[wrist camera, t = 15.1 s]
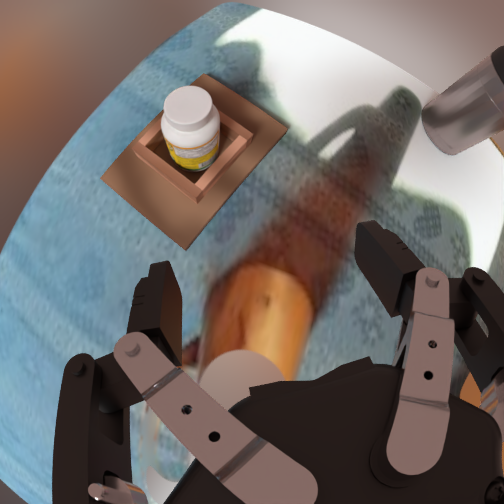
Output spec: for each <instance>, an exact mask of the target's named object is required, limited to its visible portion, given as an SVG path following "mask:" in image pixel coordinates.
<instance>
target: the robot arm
mask: <svg viewBox="0 0 504 504" xmlns="http://www.w3.org/2000/svg"><path fill="white" fill-rule="evenodd" d="M422 121H423V125H424V128H425V130H426V132H427V134H428V136H429V137H430V139H431V141H432V142H433V143H434V144H435V145H436V146H437V147H438V148H439V149H440V150H441V151H443V152H444V153H446V154H449V155H456V154H458V153H460V152H462V151H464V150H466V149H468V148H470V147H472V146H474V145H476V144H478V143H480V142H482V141H483V140H485V139H487V138H489V137H491V136H493V135H495V134H497V133H499V132H501V131H503V130H504V46H501V47H499V48H498V49H496V50H495V51H494V52H493V53H492V54H490V55H489V56H488V57H486V58H485V59H484V60H483V61H481V62H480V63H479V64H478V65H477V66H475V67H474V68H473V69H471V70H470V71H469V72H468V73H466V74H465V75H464V76H463V77H461V78H460V79H459V80H458V81H457V82H455V83H454V84H453V85H451V86H450V87H449V88H448V89H446V90H445V91H444V92H443V93H441V94H440V95H439V96H437V97H436V98H435V99H434V100H433V101H431V102H430V103H429V104H428V105H426V106H425V107H424V109H423V111H422ZM354 253H355V260H356V263H357V265H358V267H359V268H360V270H361V271H362V273H363V274H364V276H365V277H366V279H367V280H368V282H369V283H370V285H371V287H372V288H373V290H374V291H375V293H376V294H377V296H378V297H379V299H380V301H381V302H382V304H383V305H384V307H385V309H386V310H387V312H388V313H389V315H390V317H391V318H392V317H395V316H398V315H401V316H402V318H403V319H402V322H401V327H400V332H399V337H398V342H397V346H396V351H395V355H394V359H393V362H392V365H387V364H373V363H372V361H371V359H370V357H369V356H368V357H365V358H362V359H359V360H356V361H353V362H350V363H347V364H343V365H341V366H339V367H338V368H336V369H334V370H332V371H330V372H329V373H327V374H325V375H323V376H321V377H320V378H318V379H316V380H311V381H278V382H274V383H269V384H264V385H260V386H255V387H250V388H249V390H250V395H251V396H249V397H247V398H244V399H243V400H241V401H240V402H238V403H236V404H235V405H234V406H233V407H231V408H230V409H229V410H228V411H227V410H226V409H224V408H223V407H222V406H221V405H220V404H219V403H217V402H216V401H215V400H214V399H213V398H212V397H211V396H210V395H208V394H207V393H206V392H205V391H204V390H203V389H202V388H201V387H200V386H199V385H198V384H197V383H196V382H195V381H194V380H193V379H191V378H190V377H189V376H188V375H187V374H186V373H185V372H184V371H183V370H182V369H181V368H176V366H182V295H181V291H180V288H179V285H178V282H177V280H176V277H175V275H174V272H173V269H172V267H171V264H170V262H169V261H163V262H158V263H153V264H151V265H150V269H149V274H148V277H145V278H141V280H140V281H139V283H138V284H137V286H136V287H135V291H134V296H133V298H134V299H133V301H132V307H131V311H130V316H129V322H128V327H127V333H126V335H124V336H123V337H122V338H120V339H119V340H118V342H117V343H116V345H115V347H114V352H112V353H110V354H108V355H105V356H103V357H101V358H98V359H96V360H94V359H93V358H92V356H91V355H89V354H86V353H81V354H78V355H75V356H74V357H72V358H71V359H70V360H69V361H68V363H67V364H66V366H65V369H64V373H63V379H62V384H61V390H60V397H59V403H58V410H57V418H56V427H55V437H54V450H53V471H52V502H53V504H148V501H147V497H146V495H145V493H144V492H143V491H142V489H141V488H139V487H138V486H136V485H134V484H133V483H132V469H131V452H130V406H131V405H134V404H136V403H139V402H141V401H144V400H145V401H146V403H147V404H148V405H149V406H150V407H151V409H152V410H153V411H154V412H155V414H156V415H157V416H158V417H159V418H160V419H161V421H162V422H163V423H164V424H165V425H166V426H167V428H168V429H169V430H170V431H171V432H172V433H173V434H174V435H175V436H176V438H177V439H178V440H179V441H180V442H181V443H182V444H183V445H184V446H185V447H186V448H187V449H188V450H189V451H190V452H191V453H192V454H193V455H194V456H195V457H196V458H195V459H194V461H193V462H192V464H191V465H190V467H189V468H188V469H187V471H186V472H185V474H184V475H183V477H182V478H181V480H180V481H179V482H178V484H177V485H176V487H175V488H174V490H173V491H172V492H171V494H170V495H169V497H168V498H167V499H166V501H165V502H164V504H504V476H503V469H502V442H504V293H503V292H502V291H501V289H500V288H499V287H498V286H497V284H496V283H495V282H494V281H493V280H492V278H491V277H490V276H489V275H488V274H487V273H486V272H485V271H483V270H482V269H479V268H476V267H470V268H467V269H466V270H465V272H464V274H463V277H462V278H447V276H446V275H445V274H444V273H443V272H441V271H440V270H438V269H435V268H428V267H427V268H426V267H425V266H424V265H423V263H422V262H421V261H420V260H419V259H418V258H417V257H416V255H415V254H414V253H413V252H412V251H411V250H410V249H408V247H407V245H406V244H405V243H403V241H402V240H401V239H400V238H399V237H398V236H397V235H396V234H395V233H393V232H391V231H389V230H388V229H383V228H382V227H381V226H380V225H379V224H378V223H377V222H376V221H375V220H371V221H366V222H361V223H358V224H357V228H356V240H355V252H354ZM478 314H479V315H480V317H481V318H482V320H483V321H484V323H485V324H486V326H487V328H488V331H489V335H488V338H487V336H486V335H485V333H484V331H483V330H482V328H481V327H480V325H479V324H478V322H477V321H476V317H477V315H478ZM454 343H455V345H456V346H457V348H458V350H459V352H460V353H461V355H462V357H463V359H464V361H465V363H466V364H467V366H468V368H469V370H470V372H471V374H472V376H473V378H474V380H475V381H476V384H477V386H478V387H479V390H480V392H481V405H480V407H479V408H478V407H476V406H474V405H472V404H470V403H468V402H466V401H464V400H462V399H460V398H458V397H456V396H454V395H452V394H450V393H449V391H450V383H451V374H452V363H453V349H454Z"/></svg>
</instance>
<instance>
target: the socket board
mask: <svg viewBox="0 0 504 504" xmlns="http://www.w3.org/2000/svg"><path fill="white" fill-rule="evenodd" d="M189 86H197V87H200V88H202V89H204V90H206V91H207V92H208V93H209V95H210V96H211V99H212V104H213V105H214V106H215V107H216V108H217V110H218V113H219V116H220V132H219V153H218V156H217V158H216V160H215V162H214V163H213V164H212V165H211V166H210V167H208V168H206V169H204V170H202V171H198V172H188V171H185V170H182V169H180V168H179V167H178V166H177V165H176V164H175V163H174V161H173V159H172V157H171V155H170V152H169V149H168V147H167V144H166V141H165V139H164V136H163V133H162V129H161V119H162V116H163V113H164V109H163V110H162V111H161V112H160V113H159V114H158V115H157V116H156V117H155V118H154V119H153V120H152V121H151V122H150V123H149V124H148V125H147V126H146V127H145V128H144V129H143V130H142V131H141V132H140V133H139V134H138V136H137V137H136V138H135V139H134V140H133V141H132V142H131V143H130V144H129V145H128V146H127V147H126V149H125V150H124V151H123V152H122V153H121V154H120V155H119V156H118V158H117V159H116V160H115V161H114V162H113V163H112V165H111V166H110V167H109V168H108V169H107V171H106V172H105V173H104V174H103V175H102V177H101V178H100V179H101V180H103V181H104V182H105V183H106V184H107V185H108V186H109V187H111V188H112V189H113V190H114V191H115V192H116V193H117V194H119V195H120V196H121V197H122V198H123V199H124V200H126V201H127V202H128V203H129V204H130V205H131V206H133V207H134V208H135V209H136V210H137V211H138V212H140V213H141V214H142V215H143V216H144V217H146V218H147V219H148V220H149V221H150V222H151V223H153V224H154V225H155V226H156V227H157V228H159V229H160V230H161V231H162V232H163V233H165V234H166V235H167V236H168V237H169V238H171V239H172V240H173V241H174V242H176V243H177V244H178V245H179V246H180V247H182V248H183V249H184V250H185V251H186V250H187V249H188V248H189V247H190V245H191V244H192V243H193V242H194V240H195V239H196V238H197V237H198V235H199V234H200V233H201V232H202V231H203V229H204V228H205V227H206V226H207V224H208V223H209V222H210V221H211V219H212V218H213V217H214V216H215V215H216V213H217V212H218V211H219V210H220V209H221V207H222V206H223V205H224V204H225V203H226V201H227V200H228V199H229V198H230V197H231V195H232V194H233V193H234V192H235V191H236V190H237V188H238V187H239V186H240V185H241V184H242V182H243V181H244V180H245V179H246V178H247V177H248V176H249V174H250V173H251V172H252V171H253V170H254V169H255V167H256V166H257V165H258V164H259V163H260V162H261V161H262V159H263V158H264V157H265V156H266V155H267V154H268V153H269V152H270V150H271V149H272V148H273V147H274V146H275V145H276V144H277V143H278V141H279V140H280V139H281V138H282V137H283V136H284V135H285V134H286V132H287V130H288V129H287V128H286V127H285V126H283V125H282V124H280V123H279V122H278V121H276V120H275V119H273V118H272V117H271V116H269V115H268V114H266V113H265V112H264V111H262V110H261V109H259V108H258V107H256V106H255V105H253V104H252V103H250V102H249V101H247V100H246V99H244V98H243V97H241V96H240V95H238V94H237V93H235V92H234V91H232V90H230V89H229V88H227V87H226V86H224V85H222V84H221V83H219V82H218V81H216V80H214V79H213V78H211V77H209V76H208V75H206V74H204V73H203V74H202V75H201V76H200V77H199V78H198V79H196V80H195V81H194V82H193V83H192V84H191V85H189Z"/></svg>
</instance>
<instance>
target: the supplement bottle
mask: <svg viewBox="0 0 504 504" xmlns="http://www.w3.org/2000/svg"><path fill="white" fill-rule="evenodd" d="M161 129H162V133H163V136H164V139H165V141H166V144H167V147H168V149H169V152H170V155H171V157H172V159H173V161H174V163H175V164H176V165H177V166H178V167H179V168H180V169H182V170H185V171H188V172H198V171H202V170H204V169H206V168H208V167H210V166H211V165H212V164H213V163H214V162H215V160H216V158H217V156H218V153H219V132H220V116H219V113H218V110H217V108H216V107H215V106H214V105H213V104H212V99H211V96H210V95H209V93H208V92H207V91H206V90H204V89H202V88H200V87H197V86H184V87H180V88H178V89H176V90H174V91H173V92H171V93H170V94H169V95H168V97H167V98H166V100H165V102H164V113H163V116H162V119H161Z"/></svg>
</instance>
